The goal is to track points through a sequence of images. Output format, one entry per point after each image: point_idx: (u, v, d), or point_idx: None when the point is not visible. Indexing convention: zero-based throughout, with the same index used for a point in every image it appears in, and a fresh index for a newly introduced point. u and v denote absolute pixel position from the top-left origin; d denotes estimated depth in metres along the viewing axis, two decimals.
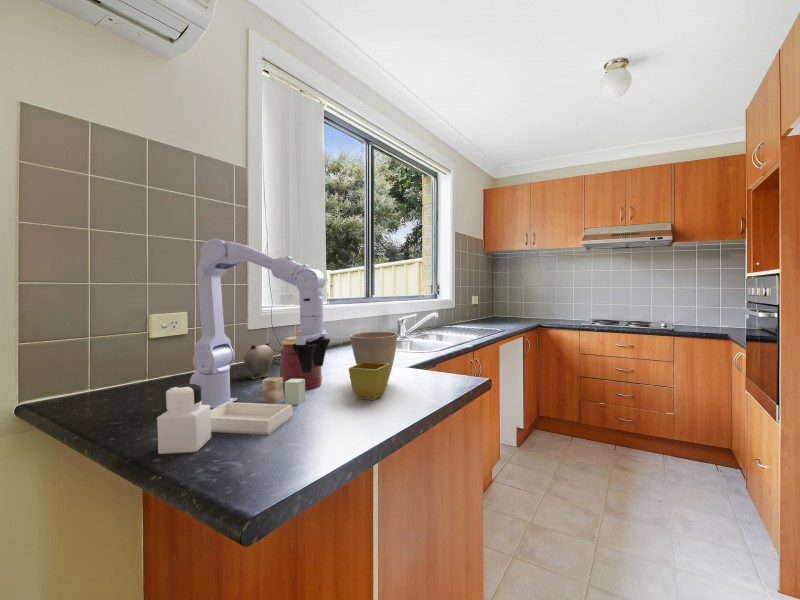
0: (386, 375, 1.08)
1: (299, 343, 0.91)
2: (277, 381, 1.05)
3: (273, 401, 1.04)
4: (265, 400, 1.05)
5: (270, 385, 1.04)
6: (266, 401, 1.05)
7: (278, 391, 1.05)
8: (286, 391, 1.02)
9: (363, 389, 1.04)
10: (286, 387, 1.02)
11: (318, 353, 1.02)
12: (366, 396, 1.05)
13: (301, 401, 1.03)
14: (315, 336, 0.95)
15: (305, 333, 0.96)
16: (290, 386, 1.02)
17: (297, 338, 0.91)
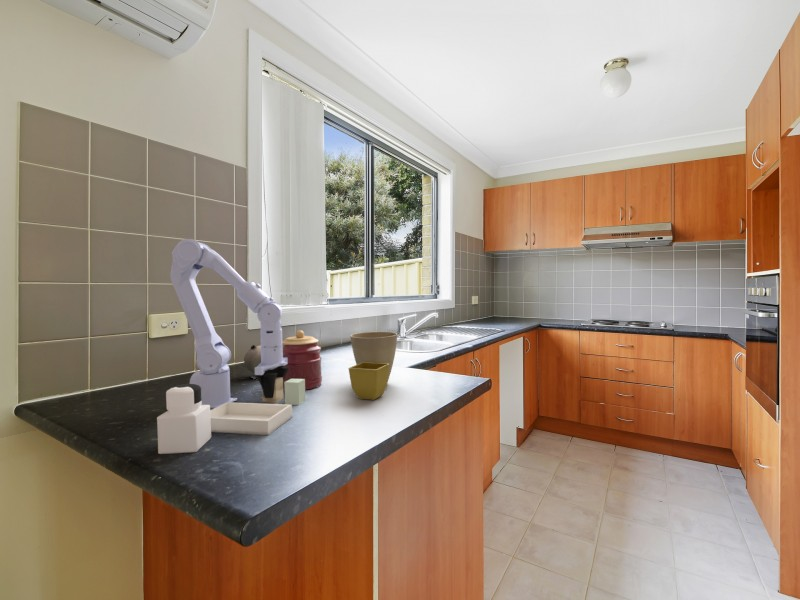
0: (386, 375, 1.08)
1: (257, 373, 0.99)
2: (277, 381, 1.05)
3: (273, 401, 1.04)
4: (265, 400, 1.05)
5: None
6: (266, 400, 1.05)
7: (278, 391, 1.05)
8: (286, 391, 1.02)
9: (363, 389, 1.04)
10: (286, 387, 1.02)
11: None
12: (366, 396, 1.05)
13: (301, 401, 1.03)
14: (274, 366, 1.03)
15: (265, 363, 1.04)
16: (290, 386, 1.02)
17: (255, 369, 0.99)
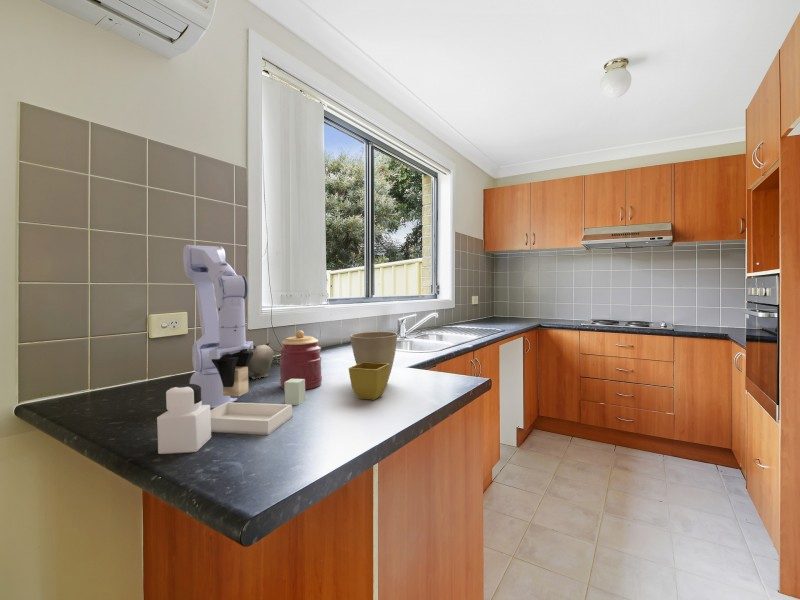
0: (386, 375, 1.08)
1: (212, 357, 0.84)
2: (240, 371, 0.89)
3: (235, 394, 0.89)
4: (226, 393, 0.89)
5: None
6: (227, 394, 0.89)
7: (241, 383, 0.90)
8: (286, 391, 1.02)
9: (363, 389, 1.04)
10: (286, 387, 1.02)
11: None
12: (366, 396, 1.05)
13: (301, 401, 1.03)
14: (233, 349, 0.87)
15: (223, 346, 0.88)
16: (290, 386, 1.02)
17: (210, 352, 0.84)
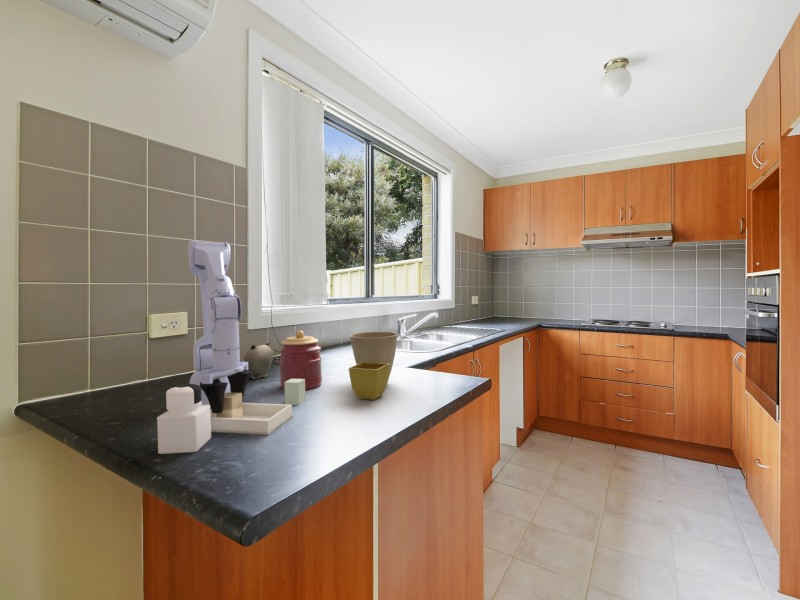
0: (386, 375, 1.08)
1: (205, 382, 0.82)
2: (234, 398, 0.87)
3: None
4: None
5: (225, 402, 0.87)
6: None
7: (235, 410, 0.88)
8: (286, 391, 1.02)
9: (363, 389, 1.04)
10: (286, 387, 1.02)
11: (237, 388, 0.92)
12: (366, 396, 1.05)
13: (301, 401, 1.03)
14: (227, 372, 0.85)
15: (216, 369, 0.86)
16: (290, 386, 1.02)
17: (203, 376, 0.82)
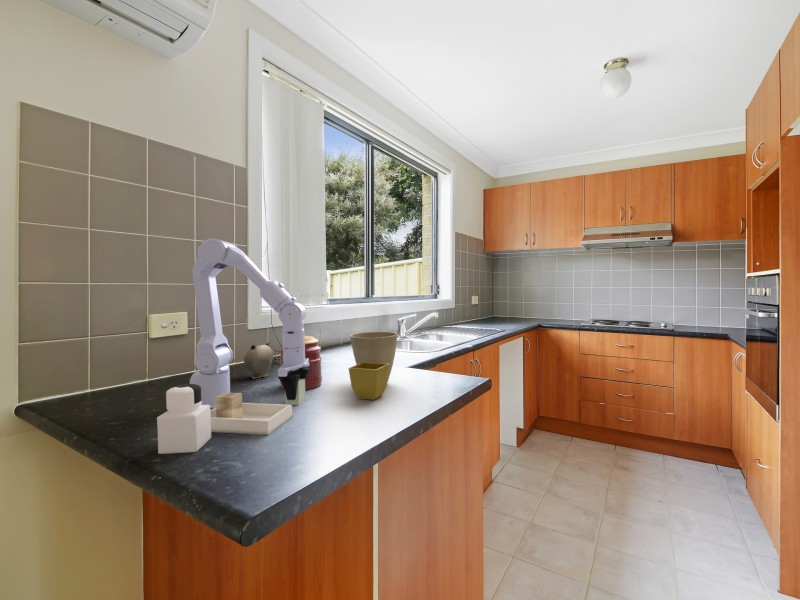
0: (386, 375, 1.08)
1: (281, 375, 0.97)
2: (234, 398, 0.87)
3: None
4: None
5: (225, 402, 0.87)
6: None
7: (235, 410, 0.88)
8: None
9: (363, 389, 1.04)
10: None
11: None
12: (366, 396, 1.05)
13: (301, 401, 1.03)
14: (297, 367, 1.01)
15: (287, 364, 1.01)
16: None
17: (279, 370, 0.97)
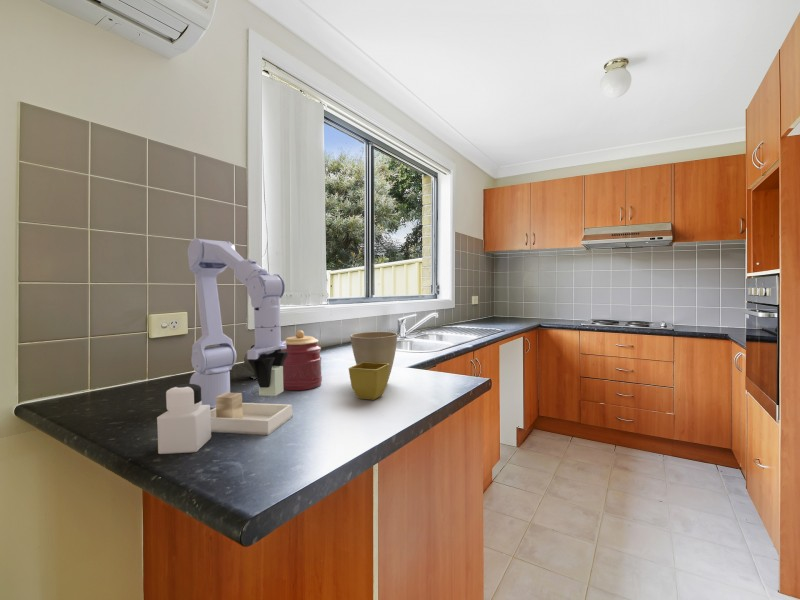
0: (386, 375, 1.08)
1: (251, 357, 0.83)
2: (234, 398, 0.87)
3: None
4: None
5: (225, 402, 0.87)
6: None
7: (235, 410, 0.88)
8: None
9: (363, 389, 1.04)
10: None
11: None
12: (366, 396, 1.05)
13: (278, 391, 0.89)
14: (270, 349, 0.86)
15: (259, 346, 0.87)
16: None
17: (248, 352, 0.83)
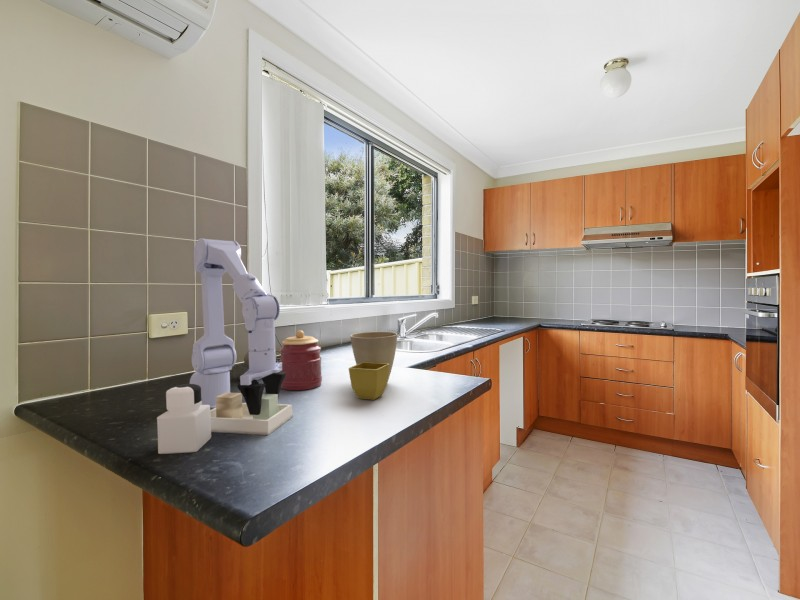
0: (386, 375, 1.08)
1: (244, 383, 0.80)
2: (234, 398, 0.87)
3: None
4: None
5: (225, 402, 0.87)
6: None
7: (235, 410, 0.88)
8: None
9: (363, 389, 1.04)
10: None
11: (272, 389, 0.91)
12: (366, 396, 1.05)
13: None
14: (264, 373, 0.84)
15: (253, 370, 0.84)
16: None
17: (241, 377, 0.80)
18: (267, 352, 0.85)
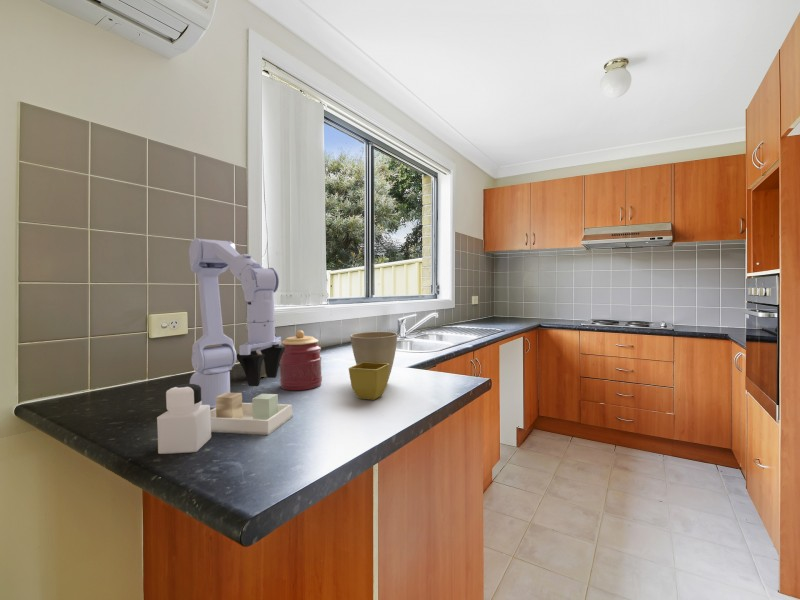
0: (386, 375, 1.08)
1: (243, 353, 0.80)
2: (234, 398, 0.87)
3: None
4: None
5: (225, 402, 0.87)
6: None
7: (235, 410, 0.88)
8: (254, 409, 0.86)
9: (363, 389, 1.04)
10: (254, 405, 0.86)
11: (271, 363, 0.91)
12: (366, 396, 1.05)
13: None
14: (263, 345, 0.84)
15: (252, 341, 0.84)
16: (259, 403, 0.85)
17: (240, 347, 0.80)
18: (266, 324, 0.85)
